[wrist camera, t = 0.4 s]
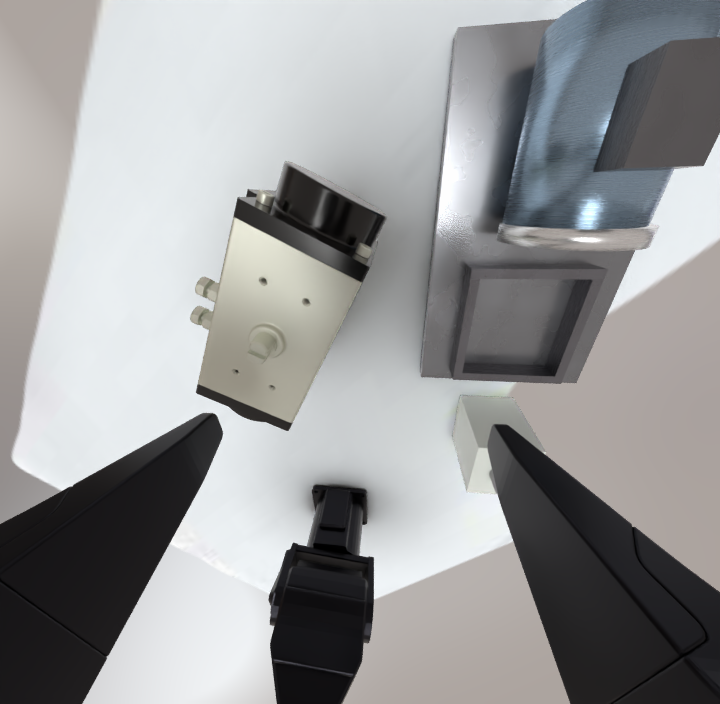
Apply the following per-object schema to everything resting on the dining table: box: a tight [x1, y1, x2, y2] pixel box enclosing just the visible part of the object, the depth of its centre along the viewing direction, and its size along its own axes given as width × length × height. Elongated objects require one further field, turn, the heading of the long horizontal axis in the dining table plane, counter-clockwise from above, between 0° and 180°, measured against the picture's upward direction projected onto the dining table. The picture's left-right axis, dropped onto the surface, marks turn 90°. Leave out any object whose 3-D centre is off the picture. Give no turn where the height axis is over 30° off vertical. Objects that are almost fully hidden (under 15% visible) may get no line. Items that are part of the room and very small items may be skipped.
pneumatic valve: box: [190, 161, 387, 431], centre depth 15 cm, size 6×12×12 cm, turn 154°
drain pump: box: [452, 395, 546, 495], centre depth 22 cm, size 5×4×7 cm
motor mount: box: [420, 0, 720, 384], centre depth 14 cm, size 20×12×8 cm, turn 1°
